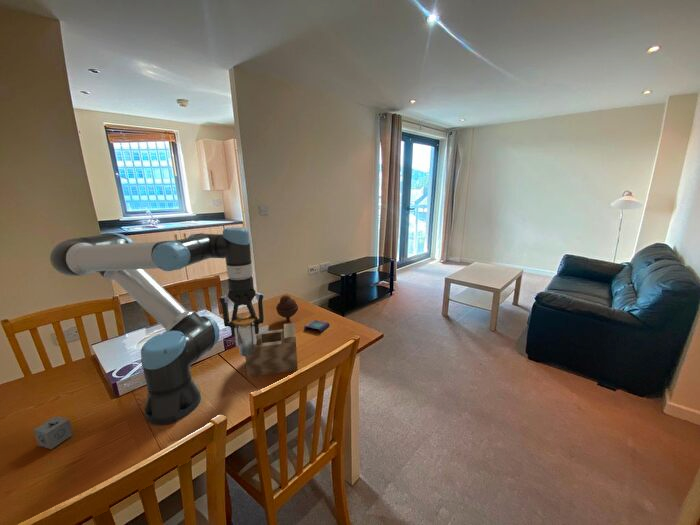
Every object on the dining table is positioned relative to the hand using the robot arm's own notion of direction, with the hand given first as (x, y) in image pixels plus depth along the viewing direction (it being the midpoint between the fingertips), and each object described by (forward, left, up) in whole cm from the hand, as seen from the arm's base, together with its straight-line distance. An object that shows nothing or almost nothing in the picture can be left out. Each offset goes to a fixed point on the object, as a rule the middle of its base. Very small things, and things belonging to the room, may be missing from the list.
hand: (246, 343), depth 99 cm
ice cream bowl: (+14, +46, -16) cm, 51 cm away
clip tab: (+1, +11, -2) cm, 11 cm away
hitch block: (+7, +11, -16) cm, 21 cm away
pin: (0, 0, -3) cm, 3 cm away
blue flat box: (+25, +32, -17) cm, 44 cm away
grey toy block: (-50, -12, -16) cm, 54 cm away
